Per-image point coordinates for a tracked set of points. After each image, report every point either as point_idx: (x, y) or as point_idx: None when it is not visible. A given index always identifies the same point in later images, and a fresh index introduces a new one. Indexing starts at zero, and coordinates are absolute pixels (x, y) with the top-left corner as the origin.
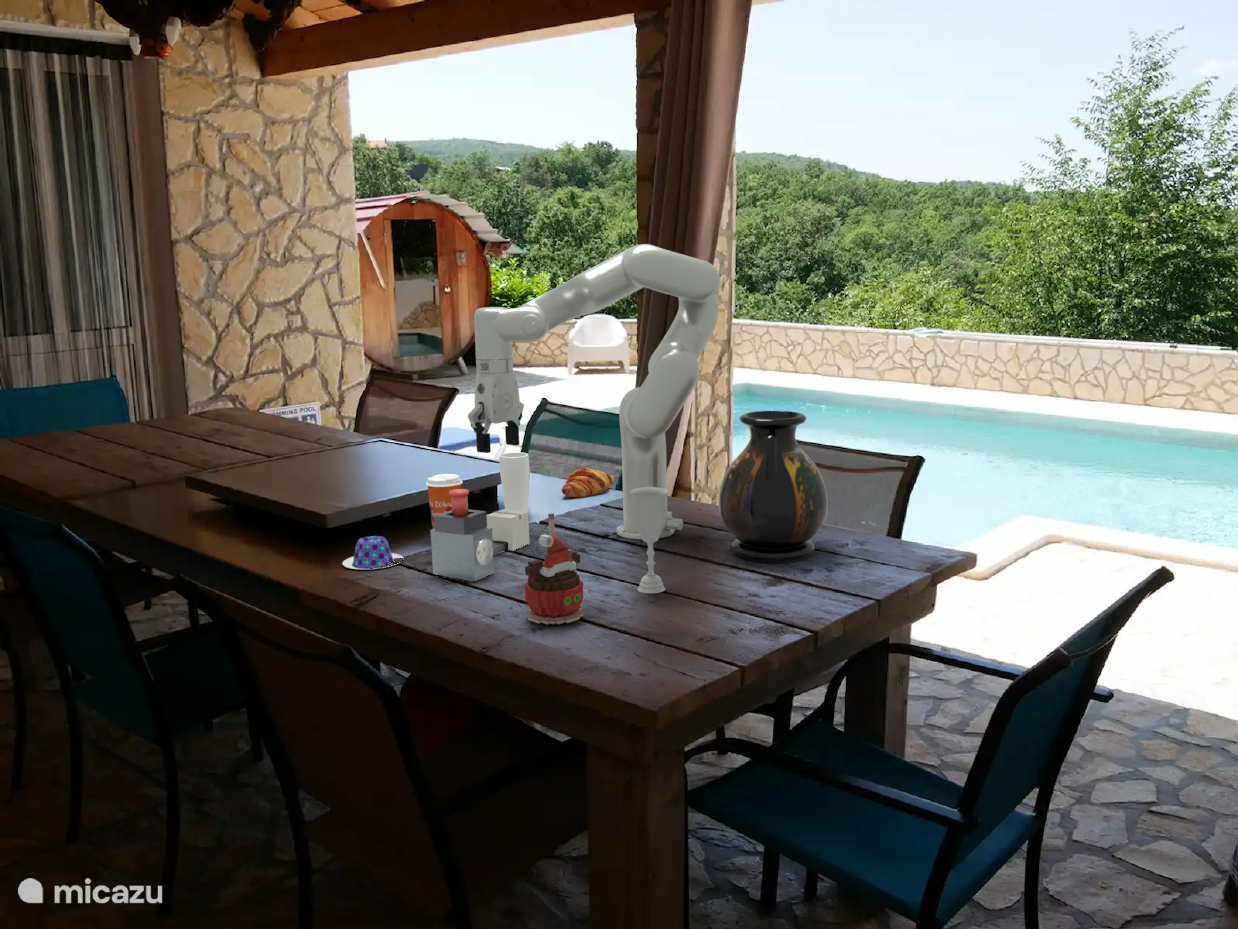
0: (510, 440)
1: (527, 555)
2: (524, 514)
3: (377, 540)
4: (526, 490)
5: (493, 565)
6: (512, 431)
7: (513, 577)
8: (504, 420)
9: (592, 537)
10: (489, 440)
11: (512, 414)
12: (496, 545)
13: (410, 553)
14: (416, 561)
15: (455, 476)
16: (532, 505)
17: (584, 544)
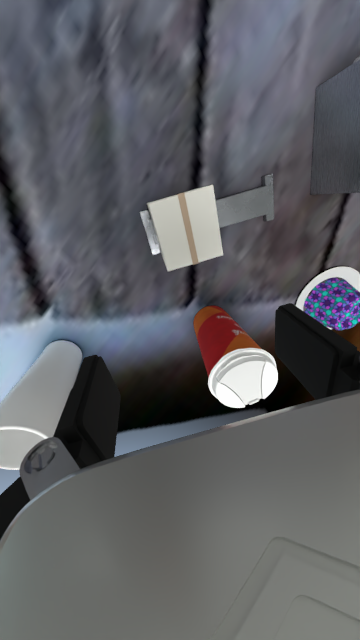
0: (109, 392)
1: (196, 141)
2: (162, 199)
3: (339, 314)
4: (34, 368)
5: (329, 79)
6: (98, 418)
7: (323, 17)
8: (282, 416)
9: (9, 130)
10: (318, 328)
11: (159, 502)
12: (221, 206)
13: (277, 304)
14: (303, 267)
15: (230, 377)
16: (3, 394)
17: (58, 94)
